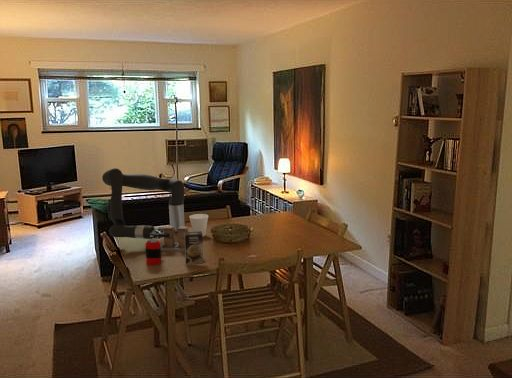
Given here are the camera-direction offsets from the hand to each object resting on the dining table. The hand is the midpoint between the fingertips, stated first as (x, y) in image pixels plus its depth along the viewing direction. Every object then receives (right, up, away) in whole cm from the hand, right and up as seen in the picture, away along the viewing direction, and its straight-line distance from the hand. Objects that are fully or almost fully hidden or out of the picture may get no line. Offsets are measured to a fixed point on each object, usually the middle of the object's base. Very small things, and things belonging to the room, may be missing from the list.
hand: (172, 233), depth 262 cm
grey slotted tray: (+2, -10, +2) cm, 10 cm away
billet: (-2, -8, +2) cm, 9 cm away
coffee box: (+15, -14, -19) cm, 28 cm away
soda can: (-6, -14, -18) cm, 24 cm away
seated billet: (+7, -8, 0) cm, 11 cm away
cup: (+12, -4, +30) cm, 32 cm away
